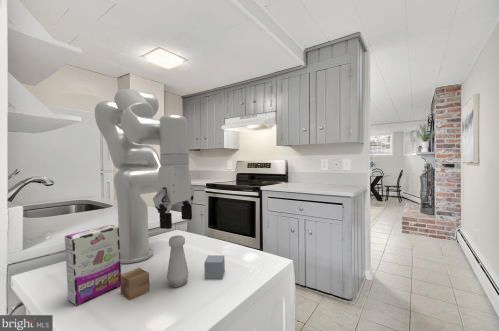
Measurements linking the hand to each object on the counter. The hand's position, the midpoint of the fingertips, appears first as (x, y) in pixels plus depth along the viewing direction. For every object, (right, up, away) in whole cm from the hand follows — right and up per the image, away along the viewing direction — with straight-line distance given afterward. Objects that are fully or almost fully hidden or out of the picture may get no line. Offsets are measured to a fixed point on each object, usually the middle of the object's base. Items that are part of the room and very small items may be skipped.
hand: (177, 223), depth 66 cm
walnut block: (-10, -17, -4) cm, 20 cm away
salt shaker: (0, -17, +1) cm, 17 cm away
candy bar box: (-20, -17, -3) cm, 27 cm away
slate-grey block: (+10, -17, +5) cm, 20 cm away
